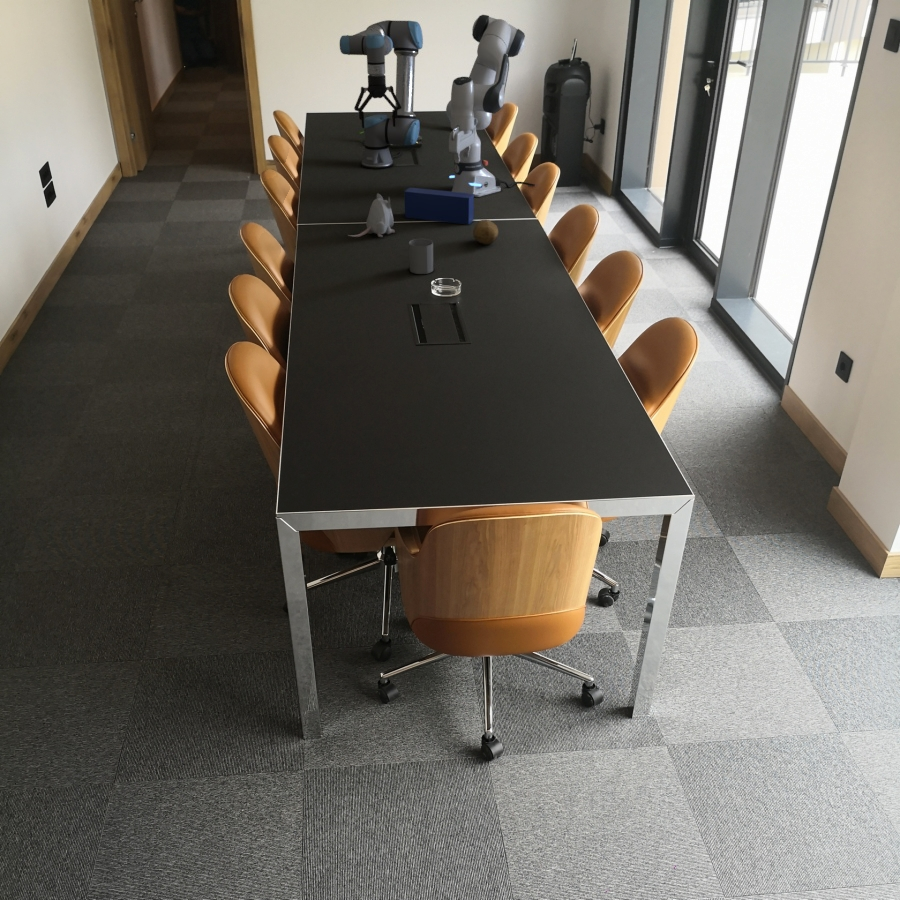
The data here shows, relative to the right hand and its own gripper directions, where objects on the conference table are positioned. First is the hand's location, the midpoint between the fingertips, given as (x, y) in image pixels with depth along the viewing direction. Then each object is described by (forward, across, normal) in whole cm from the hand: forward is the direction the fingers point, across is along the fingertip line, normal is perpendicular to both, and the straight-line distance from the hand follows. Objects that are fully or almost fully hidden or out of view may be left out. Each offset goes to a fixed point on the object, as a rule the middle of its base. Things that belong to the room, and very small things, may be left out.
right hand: (461, 159), depth 341 cm
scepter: (+25, +109, +85) cm, 140 cm away
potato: (+25, -21, -18) cm, 37 cm away
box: (+25, 0, +10) cm, 26 cm away
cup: (+25, -56, -6) cm, 62 cm away
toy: (+25, -32, +26) cm, 48 cm away
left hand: (-2, +30, +50) cm, 59 cm away
